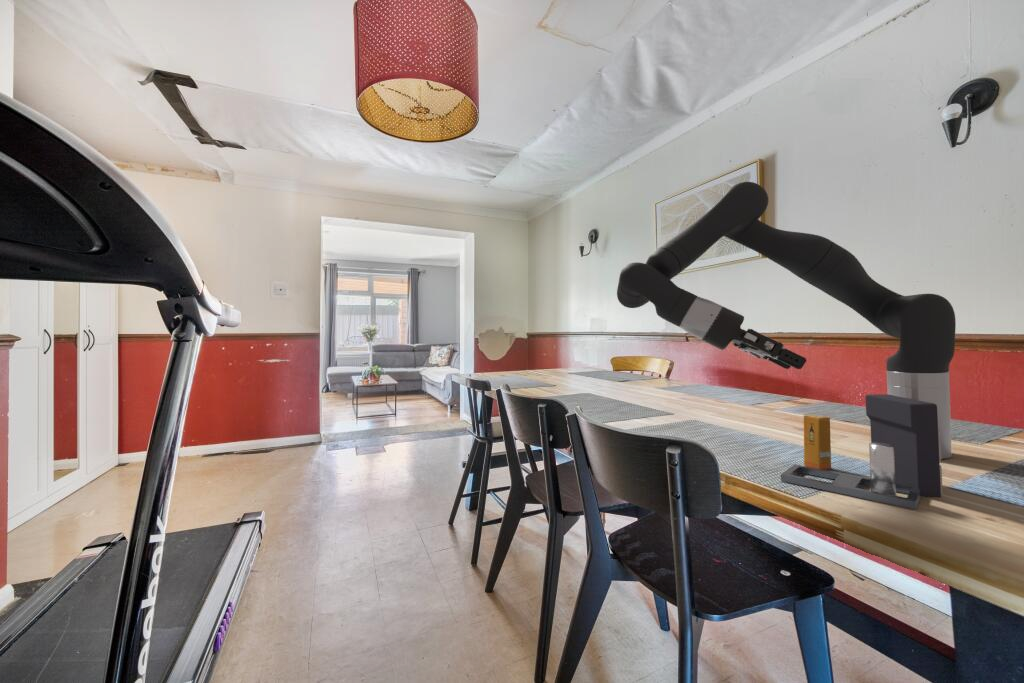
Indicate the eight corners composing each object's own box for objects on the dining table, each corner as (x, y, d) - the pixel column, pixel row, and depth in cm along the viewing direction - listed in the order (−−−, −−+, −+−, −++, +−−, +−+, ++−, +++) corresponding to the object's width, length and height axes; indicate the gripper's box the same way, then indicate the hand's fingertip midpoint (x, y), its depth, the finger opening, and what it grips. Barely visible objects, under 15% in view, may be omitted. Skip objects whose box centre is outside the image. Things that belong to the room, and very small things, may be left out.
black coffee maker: (947, 500, 62) (943, 403, 62) (914, 499, 63) (910, 404, 63) (895, 476, 73) (892, 394, 73) (868, 475, 74) (864, 394, 74)
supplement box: (833, 468, 77) (831, 416, 77) (819, 470, 76) (817, 418, 76) (816, 463, 80) (814, 413, 80) (802, 465, 79) (801, 415, 79)
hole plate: (794, 470, 76) (794, 464, 76) (921, 494, 63) (921, 487, 63) (781, 481, 71) (780, 474, 71) (915, 509, 58) (915, 501, 58)
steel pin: (872, 489, 66) (871, 441, 66) (897, 494, 64) (896, 444, 64) (869, 494, 64) (867, 445, 64) (894, 500, 62) (893, 448, 62)
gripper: (724, 300, 72) (821, 345, 66) (718, 310, 85) (798, 348, 79) (701, 336, 73) (795, 384, 67) (698, 341, 86) (776, 381, 80)
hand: (796, 364), depth 73 cm, fingers open, 8 cm apart
